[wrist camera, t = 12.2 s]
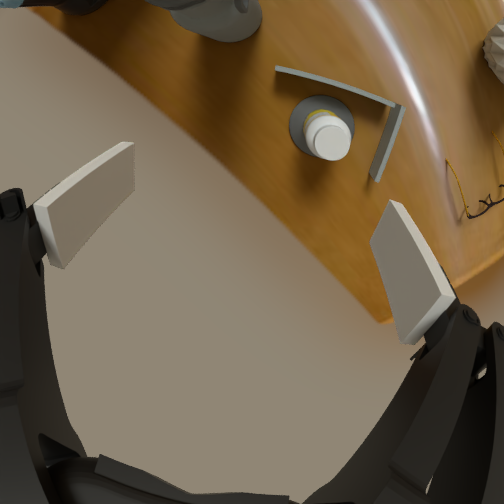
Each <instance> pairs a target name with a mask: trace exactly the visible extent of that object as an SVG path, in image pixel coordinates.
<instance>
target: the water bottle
mask: <svg viewBox="0 0 504 504" xmlns="http://www.w3.org/2000/svg"><path fill="white" fill-rule="evenodd" d="M145 1H147V2H148V3H150V4H152V5H156V6H159V7H161V8H163V9H166V10H169V11H170V13H171V15H172V17H173V19H174V20H175V21H176V22H177V23H178V24H179V25H180V26H182V27H183V28H185V29H187V30H190V31H192V32H195V33H198V34H201V35H204V36H207V37H209V38H212V39H215V40H217V41H221V42H237V41H241V40H243V39H246V38H248V37H249V36H251V35H252V34H253V33H254V32H255V31H256V30H257V29H258V27H259V26H260V23H261V20H262V10H261V7H260V5H259V2H258V0H145Z"/></svg>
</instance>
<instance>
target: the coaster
mask: <svg viewBox="0 0 504 504" xmlns="http://www.w3.org/2000/svg"><path fill="white" fill-rule="evenodd" d="M317 109H325V110H329V111H331V112H333V113H334V114H336V115H337V116H338V117H339V118H340V119H341V120H342V121H343V122H344V123H345V124H346V125H347V126H348V128H349V130H350V133H351V140H352V138H353V135H354V120H353V117H352V115H351V113H350V111H349V109H348V108H347V107H346V106H345V105H344V104H343V103H342V102H340V101H339V100H337V99H335V98H332V97H329V96H324V95H317V96H312V97H309V98H306V99H304V100H303V101H301V102H300V103H299V104H298V105H297V106H296V107H295V109H294V110H293V112H292V114H291V117H290V122H289V128H290V134H291V136H292V139H293V141H294V142H295V144H296V145H297V146H298V147H299V148H300V149H301V150H302V151H304V152H305V153H307V154H309V155H312V156H315V157H318V156H316V155H315V154H313V153H312V152H311V150H310V149H309V147H308V145H307V142H306V139H305V135H304V132H303V123H304V120H305V118H306V116H307V115H308V114H309V113H310V112H312V111H314V110H317Z"/></svg>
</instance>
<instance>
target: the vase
mask: <svg viewBox="0 0 504 504" xmlns="http://www.w3.org/2000/svg"><path fill="white" fill-rule="evenodd" d="M484 42H485V45H484V46H483V47H482V48H483V50H484V52H485V56H484V58H485V59H486V60H487V61H488V65H489V68H491V69H492V70H493V72H494V73H495V75H496V77H497V78H498V79H499V80H500V81H501V82H502V83H503V84H504V18H503V19H502V20H501V21H499V22H498V23H497V24H496V25H495V27H494V28H492V29H491V30H490V31H489V32H488V34H487V36H486V38H485V39H484Z"/></svg>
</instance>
